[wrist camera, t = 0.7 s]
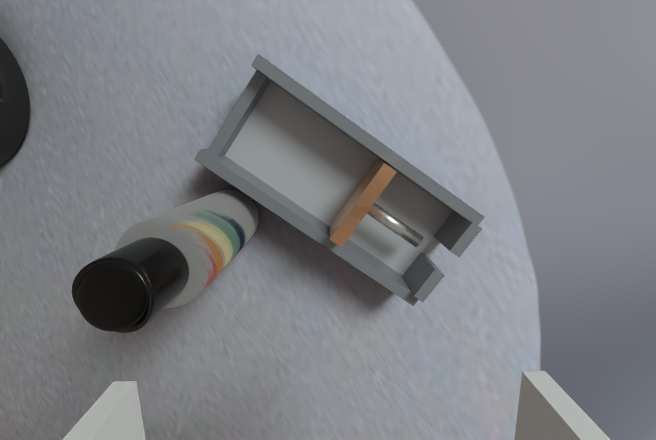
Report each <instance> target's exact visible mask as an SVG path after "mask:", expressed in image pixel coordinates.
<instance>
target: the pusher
mask: <svg viewBox="0 0 656 440" xmlns="http://www.w3.org/2000/svg"><path fill="white" fill-rule="evenodd" d="M395 174H396V171H395V170H394V169H392V168H391V167H389V166H388V165H387V164H385V163H383V162H379V161H376V160H375V161H374V162H373V164H372V165H371V167H370V168H369V169H368V171H367V172H366V174H365V175H364V177H363V178H362V179H361V181H360V182H359V184H358V185H357V186H356V188H355V189H354V191H353V192H352V193H351V195H350V196H349V198H348V199H347V201H346V202H345V203H344V205H343V206H342V208H341V209H340V210H339V212H338V213H337V215H336V216H335V217H334V219H333V220H332V222H331V223H330V240H331V241H333V242H334V243H336V244H337V245H339V246H340V247H343V245H344V244H345V242H346V241H347V240H348V238H349V237H350V236H351V234H352V233H353V231H354V230H355V229H356V227H357V226H358V225H359V223H360V222H361V220H362V219H363V218H364V216H365V215H366V214H368V215H369V216H371V217H372V218H374V219H375V220H377V221H378V222H380V223H381V224H382V225H384V226H385V227H387V228H388V229H390V230H391V231H393V232H394V233H396V234H397V235H398V236H400V237H401V238H403V239H404V240H406V241H407V242H409V243H410V244H411V245H413V246H414V247H417V246H419V245H420V244H421V242H422V241H423V236H422V235H421V234H419V233H418V232H416V231H415V230H413V229H412V228H410V227H409V226H408V225H406V224H405V223H403V222H402V221H400V220H399V219H398V218H396V217H395V216H393V215H392V214H390V213H389V212H388V211H386V210H385V209H383V208H382V207H380V206H379V205H377V204H376V203H375V201H376V200H377V198H378V197H379V196H380V194H381V193H382V192H383V190H384V189H385V187H386V186H387V185H388V183H389V182H390V181H391V179H392V178H393V176H394V175H395Z"/></svg>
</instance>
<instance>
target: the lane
mask: <svg viewBox="0 0 656 440" xmlns="http://www.w3.org/2000/svg"><path fill="white" fill-rule="evenodd" d="M252 66H253V67H254V68H255V69H256V70H257V71H256V72H255V74H254V76H253V77H252V79H251V80H250V82H249V84H248V85H247V87H246V89H245V90H244V92H243V94H242V95H241V97H240V99H239V100H238V102H237V104H236V105H235V107H234V108H233V110H232V112H231V113H230V115H229V117H228V118H227V120H226V122H225V123H224V125H223V127H222V128H221V130H220V132H219V133H218V135H217V136H216V138H215V140H214V141H213V143H212V145H211V146H210V148H209V149H207V150H200V151H199V153H198V154H197V156H196V158H195V159H194V160H196V161H197V162H199V163H200V164H202V165H203V166H205V167H206V168H208V169H209V170H211V171H212V172H214V173H215V174H217V175H218V176H220V177H221V178H223V179H224V180H226V181H227V182H229V183H230V184H231V185H233V186H234V187H236V188H237V189H239V190H240V191H242V192H243V193H245V194H246V195H248V196H249V197H251V198H252V199H254V200H255V201H257V202H258V203H260V204H261V205H263V206H264V207H266V208H267V209H269V210H270V211H272V212H273V213H275V214H276V215H278V216H279V217H281V218H282V219H284V220H285V221H287V222H288V223H290V224H291V225H293V226H294V227H296V228H297V229H299V230H300V231H302V232H303V233H305V234H306V235H308V236H309V237H311V238H312V239H314V240H315V241H317V242H318V243H320V244H321V245H323V246H324V247H326V248H327V249H329V250H330V251H332V252H333V253H335V254H336V255H338V256H339V257H341V258H342V259H344V260H345V261H347V262H348V263H350V264H351V265H353V266H354V267H356V268H357V269H359V270H360V271H362V272H363V273H365V274H366V275H368V276H369V277H371V278H372V279H374V280H375V281H377V282H378V283H380V284H381V285H383V286H384V287H386V288H387V289H389V290H390V291H392V292H393V293H395V294H396V295H398V296H399V297H401V298H402V299H404V300H405V301H407V302H408V303H410V304H411V305H413V306H414V305H415V303H416V302H417V301H418V300H420V301H422V302H424V300H425V299H426V298H427V297H428V295H429V294H430V293H431V292H432V290H433V289H434V288H435V287H436V285H437V284H438V283H439V282H440V280H441V279H442V278H443V277H444V275H443V273H442V272H441V271H440V270H439V269H438V268H437V267H436V265H435V264H434V263H433V262H432V261H431V260H430V259H429V257H430V256H431V254H432V253H433V252H434V251H435V249H436V248H437V247H438V245H439V244H440V243H442V244H443V245H444V246H445V247H446V248H447V249H448V250H449V251H451V252H452V253H454V254H455V255H457V256H458V257H460V256H461V254H462V253H463V252H464V251H465V249H466V248H467V247H468V246H469V244H470V243H471V242H472V241H473V239H474V238H475V237H476V236H477V234H478V233H479V232H480V231H481V230H482V229H481V228H480V227H478V225H479V223H480V222H481V221H482V220H483V218H484V216H482V215H481V214H480V213H478V212H477V211H476V210H474V209H473V208H471V207H470V206H469V205H467V204H466V203H464V202H463V201H462V200H460V199H459V198H457V197H456V196H455V195H453V194H452V193H451V192H449V191H448V190H446V189H445V188H444V187H442V186H441V185H439V184H438V183H437V182H435V181H434V180H433V179H431V178H430V177H428V176H427V175H426V174H424V173H423V172H421V171H420V170H419V169H417V168H416V167H414V166H413V165H412V164H410V163H409V162H408V161H406V160H405V159H403V158H402V157H401V156H399V155H398V154H396V153H395V152H394V151H392V150H391V149H389V148H388V147H387V146H385V145H384V144H383V143H381V142H380V141H378V140H377V139H376V138H374V137H373V136H371V135H370V134H369V133H367V132H366V131H364V130H363V129H362V128H360V127H359V126H358V125H356V124H355V123H353V122H352V121H351V120H349V119H348V118H346V117H345V116H344V115H342V114H341V113H339V112H338V111H337V110H335V109H334V108H333V107H331V106H330V105H328V104H327V103H326V102H324V101H323V100H321V99H320V98H319V97H317V96H316V95H315V94H313V93H312V92H310V91H309V90H308V89H306V88H305V87H303V86H302V85H301V84H299V83H298V82H296V81H295V80H294V79H292V78H291V77H290V76H288V75H287V74H285V73H284V72H283V71H281V70H280V69H278V68H277V67H276V66H274V65H273V64H271V63H270V62H269V61H267V60H266V59H265V58H263V57H262V56H260V55H259V54H258V55H257V56H256V58H255V60H254V61H253V63H252ZM375 160H376V161H379V162H383V163H385V164H387V165H388V166H389V167H391V168H392V169H394V170H395V171H396V174H395V175H394V176H393V178H392V179H391V181H390V182H389V183H388V185H387V186H386V187H385V189H384V190H383V192H382V193H381V194H380V196H379V197H378V198H377V200H376V201H375V203H376V204H377V205H379V206H380V207H382V208H383V209H385V210H386V211H388V212H389V213H390V214H392V215H393V216H395V217H396V218H398V219H399V220H400V221H402V222H403V223H405V224H406V225H408V226H409V227H410V228H412V229H413V230H415V231H416V232H418V233H419V234H421V235H422V236H423V241H422V242H421V244H420V245H419V246H417V247H414V246H413V245H411V244H410V243H409V242H407V241H406V240H404V239H403V238H401V237H400V236H398V235H397V234H396V233H394V232H393V231H391V230H390V229H388V228H387V227H385V226H384V225H382V224H381V223H380V222H378V221H377V220H375V219H374V218H372V217H371V216H369V215H368V214H366V215H365V216H364V218H363V219H362V220H361V222H360V223H359V225H358V226H357V227H356V229H355V230H354V231H353V233H352V234H351V236H350V237H349V238H348V240H347V241H346V242H345V244H344V245H343V247H340V246H339V245H337V244H336V243H334V242H333V241H331V240H330V223H331V222H332V220H333V219H334V217H335V216H336V215H337V213H338V212H339V210H340V209H341V208H342V206H343V205H344V203H345V202H346V201H347V199H348V198H349V196H350V195H351V193H352V192H353V191H354V189H355V188H356V186H357V185H358V184H359V182H360V181H361V179H362V178H363V177H364V175H365V174H366V172H367V171H368V169H369V168H370V167H371V165H372V164H373V162H374V161H375Z"/></svg>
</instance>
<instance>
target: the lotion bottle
mask: <svg viewBox="0 0 656 440" xmlns="http://www.w3.org/2000/svg"><path fill="white" fill-rule="evenodd" d="M258 222H259V215H258V210H257V208H256V205H255V204H254V202H253V201H252V200H251V199H250V198H249V197H248V196H247V195H245V194H244V193H242V192H239V191H236V190H222V191H218V192H215V193H212V194H210V195H207V196H204V197H202V198H199V199H197V200H194V201H191V202H189V203H186V204H183V205H181V206H178V207H175V208H173V209H170V210H168V211H165V212H162V213H160V214H157V215H154V216H152V217H149V218H147V219H145V220H142V221H140V222H138V223H136V224H134V225H133V226H132V227H130V228H129V229H128V230H127V231H126V232H125V233H124V234H123V235H122V236H121V238H120V239H119V241H118V243H117V246H116V249H115V251H113V252H111V253H109V254H107V255H105V256H103V257H101V258H99V259H97V260H95V261H93V262H91V263H89V264H88V265H86V266H85V267H84V268H83V269H82V270H81V271H80V272H79V273H78V274H77V276H76V277H75V279H74V282H73V285H72V296H73V300H74V302H75V304H76V306H77V307H78V309H79V310H80V312H81V314H82V316H83V317H84V318H85V319H86V321H87V322H89V323H90V324H91V325H93V326H94V327H96V328H98V329H101V330H105V331H114V332H121V333H128V332H133V331H136V330H138V329H140V328H142V327H143V326H144V325H145V324H146V323H148V322H149V321H150V320H151V319H152V318H153V317H154V316H155V315H156V314H157V313H159V312H160V311H161V310H162V309H170V308H176V307H180V306H183V305H185V304H187V303H189V302H190V301H192V300H193V299H195V298H196V297H197V296H198V295H199V294H200V293H201V292H202V291H203V290H204V289H205V288H206V287H207V286H208V285H209V284H210V283H211V281H212V280H213V279H214V278H215V277H216V276H217V275H218V274H219V273H220V272H221V270H222V269H223V268H224V267H225V266H226V265H227V264H228V263H229V262H230V261H231V259H232V258H233V257H234V256H235V255H236V254H237V253H238V252H239V251H240V250H241V248H242V247H243V246H244V245H245V244H246V243H247V242H248V241H249V240H250V238H251V237H252V236H253V234H254V233H255V231H256V229H257V226H258Z"/></svg>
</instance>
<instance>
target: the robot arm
mask: <svg viewBox="0 0 656 440" xmlns="http://www.w3.org/2000/svg"><path fill="white" fill-rule="evenodd" d="M28 120H29V96H28V90H27V86H26V82H25V79H24V76H23V73H22V71H21V68H20V66H19V64H18V62H17V60H16V59H15V57H14V55H13V54H12V52H11V51H10V49H9V48H8V47H7V45H6V44H5V43H4V42H3V40H2V39H1V38H0V165H1V164H2V163H4V162H5V161H6V160H7V159H9V158H10V157H11V156H12V155H13V153H14V152H15V151H16V150H17V148H18V147H19V145H20V143H21V142H22V140H23V137H24V135H25V132H26V129H27V125H28ZM63 440H146V439H145V433H144V427H143V421H142V415H141V408H140V402H139V396H138V390H137V384H136V381H121V382H113V383H112V384H111V385H110V386H109V387H108V388H107V390H106V391H105V392H104V393H103V394H102V395H101V396H100V398H99V399H98V400H97V401H96V402H95V403H94V404H93V406H92V407H91V408H90V409H89V410H88V411H87V412H86V413H85V415H84V416H83V417H82V418H81V419H80V420H79V421H78V423H77V424H76V425H75V426H74V427H73V428H72V429H71V431H70V432H69V433H68V434H67V435H66V436H65V437H64V439H63ZM515 440H610V439H609V438H608V437H607V436H606V434H605V433H604V432H603V431H602V430H601V429H600V428H599V427H598V426H597V425H596V424H595V423H594V422H593V421H592V420H591V419H590V418H589V417H588V416H587V415H586V414H585V413H584V411H583V410H582V409H581V408H580V407H579V406H578V405H577V404H576V403H575V402H574V401H573V400H572V399H571V398H570V397H569V396H568V395H567V394H566V393H565V392H564V390H563V389H562V388H561V387H560V386H559V385H558V384H557V383H556V382H555V381H554V380H553V379H552V378H551V377H550V376H549V375H548V374H547V373H546V372H545V371H522V379H521V388H520V397H519V405H518V414H517V423H516V432H515Z"/></svg>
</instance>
